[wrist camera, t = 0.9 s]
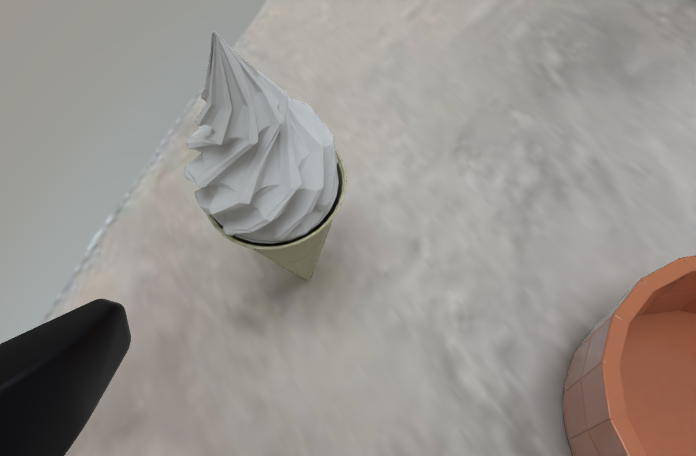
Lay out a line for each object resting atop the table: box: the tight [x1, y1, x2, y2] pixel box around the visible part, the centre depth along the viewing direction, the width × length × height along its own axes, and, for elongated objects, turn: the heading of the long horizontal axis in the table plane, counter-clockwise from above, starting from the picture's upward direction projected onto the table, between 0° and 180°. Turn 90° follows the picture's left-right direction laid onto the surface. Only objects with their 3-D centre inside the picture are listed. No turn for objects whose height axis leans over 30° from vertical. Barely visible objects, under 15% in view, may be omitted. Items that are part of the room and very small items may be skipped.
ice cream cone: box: [184, 32, 346, 280], centre depth 20 cm, size 5×5×15 cm
